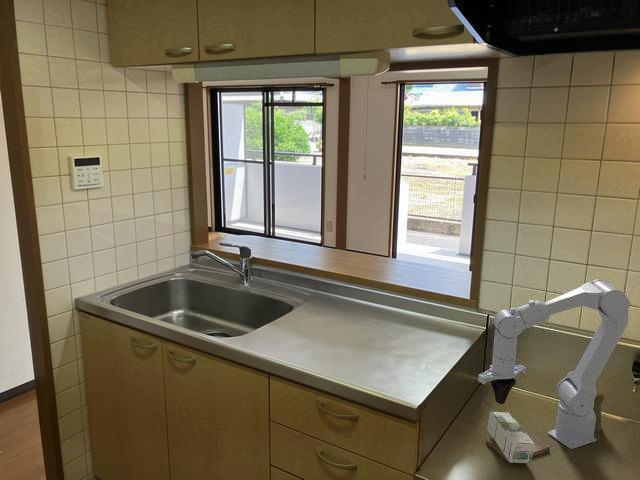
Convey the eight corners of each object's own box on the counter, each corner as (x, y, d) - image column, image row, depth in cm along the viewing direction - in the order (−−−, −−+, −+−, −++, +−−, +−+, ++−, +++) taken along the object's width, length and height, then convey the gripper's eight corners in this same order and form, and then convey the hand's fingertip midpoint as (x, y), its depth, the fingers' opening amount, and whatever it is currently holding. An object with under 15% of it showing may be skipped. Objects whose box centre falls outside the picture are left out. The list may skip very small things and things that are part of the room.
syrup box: (486, 429, 142) (509, 464, 128) (490, 410, 141) (513, 443, 127) (506, 430, 143) (531, 465, 129) (510, 410, 142) (536, 444, 128)
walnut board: (523, 432, 144) (523, 428, 144) (549, 451, 136) (549, 446, 136) (486, 443, 139) (486, 439, 139) (510, 463, 131) (511, 459, 131)
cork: (572, 421, 150) (577, 386, 147) (591, 419, 151) (596, 384, 148) (587, 433, 144) (591, 397, 141) (606, 431, 145) (611, 395, 142)
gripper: (514, 345, 144) (510, 389, 147) (472, 354, 138) (468, 400, 141) (533, 355, 138) (529, 402, 141) (490, 365, 132) (486, 413, 135)
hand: (499, 402), depth 141 cm, fingers closed
